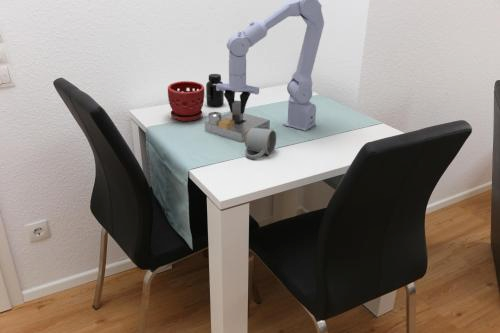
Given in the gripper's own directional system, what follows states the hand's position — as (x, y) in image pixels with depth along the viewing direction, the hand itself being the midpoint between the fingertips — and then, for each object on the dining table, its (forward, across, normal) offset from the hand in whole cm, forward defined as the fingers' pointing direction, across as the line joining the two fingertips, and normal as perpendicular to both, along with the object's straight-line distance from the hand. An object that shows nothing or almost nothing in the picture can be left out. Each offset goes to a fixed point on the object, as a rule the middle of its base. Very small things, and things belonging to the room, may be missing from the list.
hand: (237, 112), depth 161 cm
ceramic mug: (+7, -12, +16) cm, 22 cm away
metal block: (+3, 0, 0) cm, 4 cm away
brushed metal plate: (+6, 0, 0) cm, 6 cm away
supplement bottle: (+7, +16, -22) cm, 28 cm away
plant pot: (+7, +21, -6) cm, 23 cm away
